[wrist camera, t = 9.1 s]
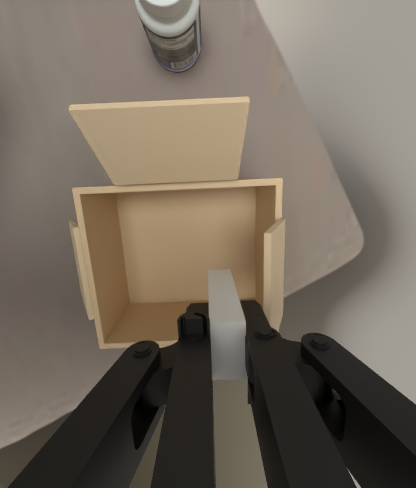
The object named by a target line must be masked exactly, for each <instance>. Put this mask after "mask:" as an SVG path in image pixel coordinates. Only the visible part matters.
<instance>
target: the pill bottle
mask: <svg viewBox="0 0 416 488" xmlns="http://www.w3.org/2000/svg"><path fill="white" fill-rule="evenodd" d="M135 5H136V9H137V12H138V15H139V17H140V20H141V22H142V24H143V27H144V30H145V32H146V35H147V37H148V40H149V42H150V45H151V47H152V50H153V53H154V55H155V57H156V59H157V60H158V62H159V63H160V64H161V65H162V66H163V67H165V68H166V69H168V70H171V71H175V72H181V71H184V70H187V69H188V68H190V67H191V66H192V65H193V64H194V63H195V62H196V60H197V58H198V56H199V53H200V49H201V19H200V0H135Z"/></svg>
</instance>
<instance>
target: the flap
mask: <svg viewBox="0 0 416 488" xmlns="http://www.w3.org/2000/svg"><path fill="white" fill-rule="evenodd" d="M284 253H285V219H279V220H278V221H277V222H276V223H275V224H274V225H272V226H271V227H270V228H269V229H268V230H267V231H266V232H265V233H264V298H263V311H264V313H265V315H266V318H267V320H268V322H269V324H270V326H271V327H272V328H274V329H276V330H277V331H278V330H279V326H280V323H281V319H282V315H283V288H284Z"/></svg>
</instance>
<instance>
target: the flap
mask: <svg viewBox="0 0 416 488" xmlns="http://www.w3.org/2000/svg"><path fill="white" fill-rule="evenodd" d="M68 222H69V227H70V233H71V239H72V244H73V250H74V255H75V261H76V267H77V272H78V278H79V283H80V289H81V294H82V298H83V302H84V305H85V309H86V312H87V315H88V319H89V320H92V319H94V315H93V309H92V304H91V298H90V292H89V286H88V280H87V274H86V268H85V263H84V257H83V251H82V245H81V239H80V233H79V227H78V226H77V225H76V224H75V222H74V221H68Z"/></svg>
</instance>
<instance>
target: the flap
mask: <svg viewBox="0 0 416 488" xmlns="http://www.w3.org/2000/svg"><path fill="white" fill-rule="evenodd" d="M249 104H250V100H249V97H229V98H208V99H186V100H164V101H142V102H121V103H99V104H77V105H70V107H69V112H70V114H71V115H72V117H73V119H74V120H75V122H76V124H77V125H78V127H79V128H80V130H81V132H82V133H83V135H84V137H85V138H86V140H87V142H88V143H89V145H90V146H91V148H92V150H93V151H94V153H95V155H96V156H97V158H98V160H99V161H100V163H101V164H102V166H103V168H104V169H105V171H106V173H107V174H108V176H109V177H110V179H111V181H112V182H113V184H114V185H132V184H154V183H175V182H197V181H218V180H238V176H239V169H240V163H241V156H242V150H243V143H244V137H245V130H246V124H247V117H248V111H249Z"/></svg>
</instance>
